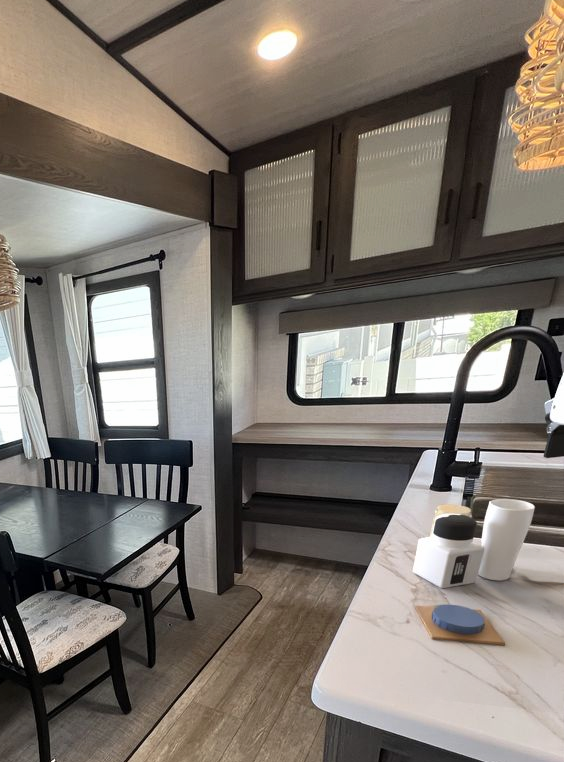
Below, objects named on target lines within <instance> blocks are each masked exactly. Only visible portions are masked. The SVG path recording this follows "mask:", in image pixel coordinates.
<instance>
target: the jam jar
mask: <svg viewBox="0 0 564 762" xmlns="http://www.w3.org/2000/svg"><path fill="white" fill-rule="evenodd" d="M443 514H462V515H466V516H469V517H471V518H473V514H472V509H471V508H470V507H468V506H464V505H460V504H450V503H449V504H447V503H446V504H441V505H439V506H437V507H436V510H435V511H434V514H433V519H432V523H431V527H430V528H431V529H430V534H429V537H432V533H433V528H434V523H435V519H436V517H438V516H440V515H443Z"/></svg>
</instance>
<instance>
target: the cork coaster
mask: <svg viewBox="0 0 564 762" xmlns="http://www.w3.org/2000/svg"><path fill="white" fill-rule="evenodd" d="M435 607H436V606H429V605H415V607H414V608H415V610H416V612H417V614H418V616H419V617H420V619H421V622H422V623H423V625H424V626H425V629H426V631H427V634H428V635H429V636H430V639H431V640H439V641H452V642H464V643H475V644H485V645H486V644H487V645H499V646H505V645H506V641H505V639H504V638H503V637H502V636H501V635H500V634H499V632H498V631H497V629H496V628H495V627H494V626H493V624H492V623H491V622H490V620H489V619H488V617H487V616H486V614H484V612H483V611H482V610H481V609H477V608H476V609H473V608H471V609H472V610H474V611H476V612H478V613H480V614H481V615H482V616H483V617H484V619H485V623H484V624H485V625H484V629H483V630H482V631H481V632H479V633H477V634H459V633H454V632H451V631H448V630H445V629H443V628H441V627H439V626H438V625H436V624H435V623H434V622H433V620H432V613H433V611H434V608H435Z"/></svg>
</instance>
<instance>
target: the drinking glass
mask: <svg viewBox="0 0 564 762" xmlns="http://www.w3.org/2000/svg"><path fill="white" fill-rule="evenodd" d="M535 509H536V506H535V505H534V504H533V503H531V502H528V501H524V500H519V499H513V498H497V499H493V500H490V501H489V503H488V506H487V509H486V512H485V516H484V520H483V526H482V531H481V532H482V534H481V540H480V545H481V546H483V547H484V548H485V549H484V553H483V557H482V561H481V565H480V569H479V572H478V576H479V577H481V578H484V579H486V580H489V581H495V582H496V581H500V582H501V581H506V580H508V579H510V577H511V575H512V571H513V569H514V566H515V564H516V562H517V559H518V556H519V553H520V551H521V549H522V547H523V544H524V542H525V539H526V537H527V535H528V533H529V530H530V527H531V524H532V521H533V517H534V512H535Z"/></svg>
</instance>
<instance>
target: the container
mask: <svg viewBox="0 0 564 762" xmlns="http://www.w3.org/2000/svg"><path fill="white" fill-rule="evenodd" d="M477 526H478V522H477V520H476V519H474V518H473V517H472V518H471V517H469V516H466V515H462V514H443V515H440V516H438V517H436V519H435V523H434V528H433V533H432V537H430V536H428V537H421V538H419V539H418V541H417V547H416V553H415V557H414V561H413V569H412V573H413V574H415V575H417V576H419V577H420V578H422V579H424V580H426V581H427V582H429V583H431V584H433V585H434V586H436V587H438V588H440V589H448V588H451V587H452V588H453V587H459V586H463V585H464V586H465V585H471V584H475V583H477V579H478V576H479V575H478V572H479V569H480V565H481V561H482V557H483V553H484V549H485V548H484V547H483V546H481V544H478V543H476V542H474V538H475V533H476V529H477Z"/></svg>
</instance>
